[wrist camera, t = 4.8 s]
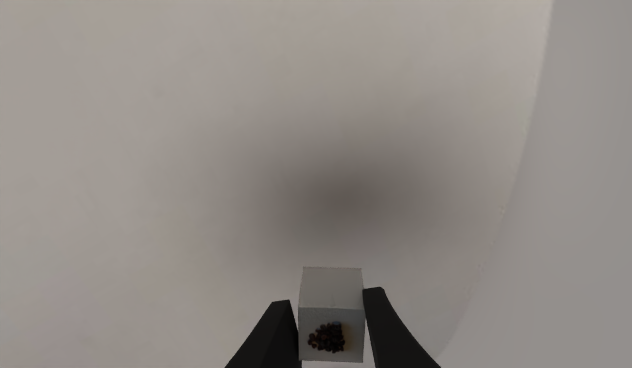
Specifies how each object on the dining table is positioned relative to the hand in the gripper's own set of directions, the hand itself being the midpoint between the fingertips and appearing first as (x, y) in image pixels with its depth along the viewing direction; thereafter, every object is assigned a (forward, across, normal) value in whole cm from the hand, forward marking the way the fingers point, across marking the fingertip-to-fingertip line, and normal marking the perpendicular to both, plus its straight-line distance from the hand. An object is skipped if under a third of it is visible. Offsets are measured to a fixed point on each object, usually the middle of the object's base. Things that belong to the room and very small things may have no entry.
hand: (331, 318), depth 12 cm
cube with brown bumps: (+2, 0, 0) cm, 2 cm away
